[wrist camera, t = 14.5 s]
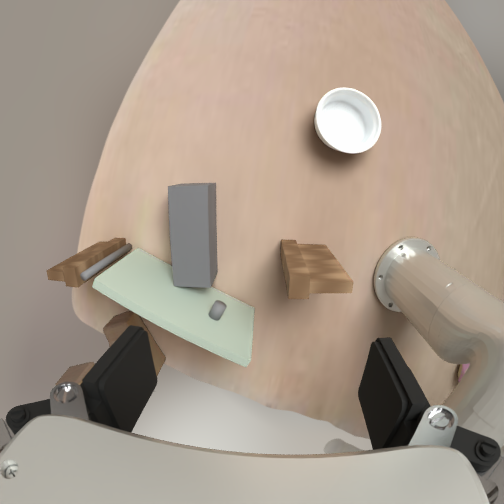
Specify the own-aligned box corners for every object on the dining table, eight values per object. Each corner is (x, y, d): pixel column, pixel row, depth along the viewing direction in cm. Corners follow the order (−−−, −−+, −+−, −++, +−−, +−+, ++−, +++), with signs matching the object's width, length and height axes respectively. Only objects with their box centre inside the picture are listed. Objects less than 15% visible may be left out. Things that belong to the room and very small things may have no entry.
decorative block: (113, 315, 45) (52, 385, 26) (136, 307, 44) (76, 382, 25) (143, 363, 48) (101, 441, 29) (167, 358, 47) (129, 442, 28)
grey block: (216, 182, 38) (207, 185, 33) (217, 271, 42) (210, 287, 36) (181, 183, 39) (167, 186, 33) (185, 270, 42) (173, 286, 37)
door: (260, 297, 42) (259, 348, 30) (251, 313, 43) (246, 367, 31) (131, 230, 40) (84, 255, 28) (125, 248, 41) (79, 278, 29)
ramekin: (327, 84, 34) (334, 75, 29) (379, 117, 34) (391, 112, 30) (299, 134, 36) (303, 130, 32) (353, 166, 37) (364, 166, 33)
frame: (325, 240, 40) (354, 276, 26) (324, 256, 41) (350, 298, 27) (99, 238, 41) (45, 266, 28) (101, 252, 42) (49, 284, 28)
